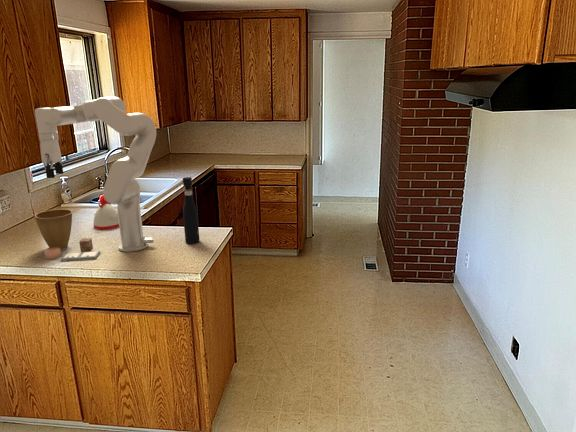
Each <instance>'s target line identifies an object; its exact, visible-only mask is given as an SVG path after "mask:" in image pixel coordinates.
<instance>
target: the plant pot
mask: <svg viewBox="0 0 576 432" xmlns="http://www.w3.org/2000/svg"><path fill="white" fill-rule="evenodd" d="M34 217H35V222H36V224H37V226H38V230H39V232H40V234H41V236H42V238H43V240H44V241H45V244H46V245H47V247H48V248H53V247H59V248H60V250H62V249H66V248H67V247H68V245H69V242H70V238H71V234H72V233H71V232H72V226H73V210H71V209H62V208H61V209H58V208H57V209H50V210H45V211H41V212H37V213H36V214H34Z"/></svg>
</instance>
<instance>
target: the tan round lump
mask: <svg viewBox="0 0 576 432" xmlns="http://www.w3.org/2000/svg"><path fill="white" fill-rule="evenodd" d="M61 251H62V250H61V249H60V248H59V247H53V248H49V247H48V248H46V249H45V250H44V257H45V259H46V260H48V261H50V260H57V259H59V258H60V259H61V258H62V252H61Z"/></svg>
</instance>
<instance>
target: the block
mask: <svg viewBox="0 0 576 432" xmlns="http://www.w3.org/2000/svg"><path fill="white" fill-rule="evenodd" d="M79 249H80V252H92V251H93V249H94V247H93V240H92V238H91V237H87V238H86V237H85V238H81V239H80V240H79Z"/></svg>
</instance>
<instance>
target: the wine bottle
mask: <svg viewBox="0 0 576 432" xmlns="http://www.w3.org/2000/svg"><path fill="white" fill-rule="evenodd" d="M192 179H193V178H192V176H191V177H189V176H186V177H182V185H183V187H184V190H185V191H184V197H183V198H184V203H183V207H182V217H183V218H182V219H183V227H184V228H183V230H184V239H185V244H186V245H197V244H199V243H200V232H199V231H200V230H199V217H198V210H197V206H196V204H195V200H194V195H193V191H192V185H193V180H192Z"/></svg>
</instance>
